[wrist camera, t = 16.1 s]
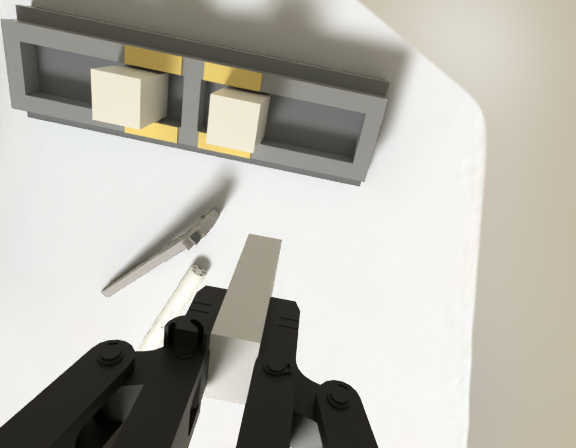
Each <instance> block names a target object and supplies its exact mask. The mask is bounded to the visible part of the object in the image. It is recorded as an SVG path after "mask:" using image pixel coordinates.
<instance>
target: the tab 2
mask: <svg viewBox="0 0 576 448" xmlns="http://www.w3.org/2000/svg"><path fill="white" fill-rule="evenodd" d="M270 97H271V94H268V93H263V92H258V91H254V90H249V89H244V88H239V87H234V86H230V85H228V86H226V87H224V88H222V89H219V90H217V91H215V92H213V93H211V95H210V105H209V116H208V127H207V137H206V144H211V145H216V146H220V147H225V148H230V149H235V150H240V151H244V152H249V153H254V152H255V150H256V148H257V147H258V145H259V144H260V142H261V141H262V139H263V138H264V134H265V128H266V122H267V116H268V109H269V103H270Z"/></svg>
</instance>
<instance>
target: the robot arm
mask: <svg viewBox="0 0 576 448" xmlns="http://www.w3.org/2000/svg"><path fill="white" fill-rule="evenodd" d="M281 242H282V240H279V239H274V238H269V237H263V236H258V235H253V234H249V235H248V238H247V241H246V243H245V246H244V248H243V251H242V254H241V256H240V259H239V261H238V264H237V267H236V269H235V272H234V274H233V277H232V280H231V282H230V285H229V287H228V290H227V289H222V288H217V287H211V286H205V287H203V288H202V289H201V290H199V291H198V292H197V293H196V295H195V297H194V299H193V301H192V303H191V305H190V307H189V310H188V311H187V313H186V315H184V316H179V317H175V318H173V319H171V320H169V321H168V322H167V324H166V325H165V326H164V347H162V348H159V349H156V350H149V351H136V352H135V351H134V349H133V347H132V345H130V344H129V343H127V342H126V341H121V340H108V341H105V342H102V343H99V344H98V345H96V346H94V347H93V348H91V349H90V350H89V351H88V352H87V353H86V354H85V355H83V356H82V357H81V358H80V359H79V360H78V361H77V362H75V363H74V364H73V365H72V366H71V367H70V368H68V369H67V370H66V371H65V372H64V373H63V374H62V375H60V376H59V377H58V378H57V379H56V380H55V381H53V382H52V383H51V384H50V385H49V386H48V387H47V388H45V389H44V390H43V391H42V392H41V393H40V394H39V395H37V396H36V397H35V398H34V399H33V400H32V401H30V402H29V403H28V404H27V405H26V406H25V407H24V408H22V409H21V410H20V411H19V412H18V413H17V414H15V415H14V416H13V417H12V418H11V419H10V420H9V421H7V422H6V423H5V424H4V425H3V426H2V427H0V448H188V446H189V443H190V440H191V437H192V434H193V431H194V428H195V425H196V422H197V419H198V416H199V413H200V405H201V399H202V396H203V393H204V391H205V394H204V397H208V398H213V399H218V400H223V401H229V402H234V403H239V404H244V405H245V409H244V413H243V418H242V423H241V427H240V432H239V436H238V441H237V445H236V448H290V447H291V448H378V446H377V443H376V440H375V437H374V435H373V432H372V429H371V426H370V424H369V421H368V418H367V415H366V413H365V410H364V407H363V404H362V402H361V399H360V397H359V395H358V393H357V392H356V390H354V389H353V388H352V387H351V386H350V385H348V384H346V383H344V382H342V381H336V380H331V381H326V382H324V383H323V384H321V385H319V384H317V383H315V382H313V381H311V380H310V379H308V378H306V377H305V376H304V375H303V374H302V373H301V372H300V370H299V369H298V367H297V364H296V350H297V339H298V328H299V317H300V310H299V308H298V306H297V304H296V302H295V301H290V300H285V299H279V298H274V297H271V296H272V291H273V286H274V280H275V275H276V269H277V264H278V259H279V253H280V248H281Z"/></svg>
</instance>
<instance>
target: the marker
mask: <svg viewBox="0 0 576 448" xmlns="http://www.w3.org/2000/svg"><path fill="white" fill-rule="evenodd" d="M198 269H199V268H198V266H197V265H196V264H194V265H192V266H191V268H190V269H189V270H188V272H187V274H186V275H185V277H184V278H183V280H182V281H181V283H180V285H179V286H178V288H177V289H176V291H175V292H174V294H173V295H172V297H171V299H170V300H169V302H168V303H167V305H166V306H165V308H164V309H163V311H162V313H161V314H160V316H159V317H158V319H157V320H156V322H155V324H154V325H153V327H152V328H151V330H150V331H149V333H148V334H147V336H146V338H145V339H144V341H143V342H142V344H141V345H140V348H139V351H149V350H156V349H157V348H158V346H159V345H160V343H161V342H162V340H163V339H164V326H165V325H166V324H167V322H168V321H169V320H171V319H173V318H175V317H178V316H179V315H180V313H181V312H182V310H183V309H184V307H185V306H186V304H187V303H188V301H189V300H190V298H191V297H192V296H193V294H194V293H195V291H196V290H197V288H198V287H199V285H200V284H201V282H202V281H203V279H204V278H205V276H206V270H204V269H202V270H200V269H199V270H198Z"/></svg>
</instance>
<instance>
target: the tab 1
mask: <svg viewBox="0 0 576 448" xmlns="http://www.w3.org/2000/svg"><path fill="white" fill-rule="evenodd" d="M168 80H169V73H167V72H163V71H158V70H153V69H148V68H143V67H139V66H134V65H129V64H122V65H115V66H107V67H100V68H93V69H91V92H92V119H93V120H96V121H101V122H106V123H111V124H115V125H120V126H125V127H130V128H134V129H139V130H140V129H142V128H144V127H146V126H148V125H150V124H152V123H154V122H156V121H158V120H160V119H162V118H164V117H166V116H167V101H168Z"/></svg>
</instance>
